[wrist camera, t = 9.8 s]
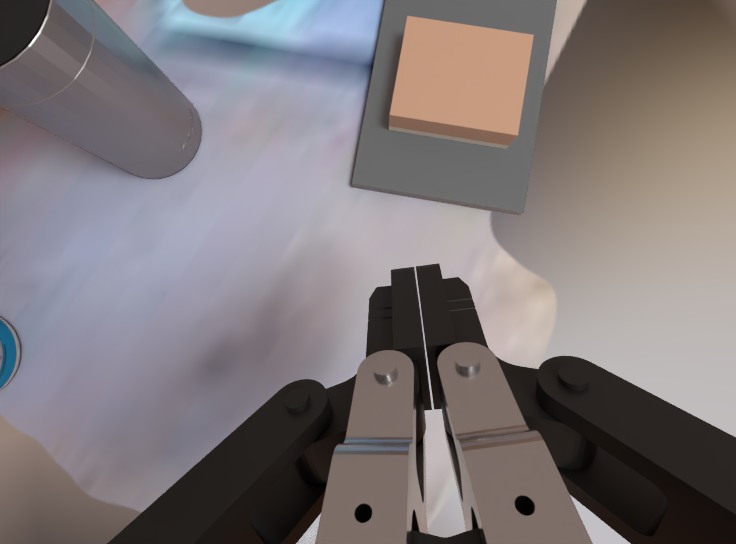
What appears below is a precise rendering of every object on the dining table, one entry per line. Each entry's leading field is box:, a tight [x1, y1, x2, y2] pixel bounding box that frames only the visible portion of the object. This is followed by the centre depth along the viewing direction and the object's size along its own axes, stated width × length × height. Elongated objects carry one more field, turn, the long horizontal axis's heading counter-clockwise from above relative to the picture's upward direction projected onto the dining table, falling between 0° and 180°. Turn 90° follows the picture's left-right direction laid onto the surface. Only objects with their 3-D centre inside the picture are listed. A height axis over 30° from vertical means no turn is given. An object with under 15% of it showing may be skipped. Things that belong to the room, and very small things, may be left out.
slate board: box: [352, 0, 557, 215], centre depth 36 cm, size 16×22×1 cm
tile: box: [389, 16, 534, 149], centre depth 34 cm, size 11×3×9 cm
